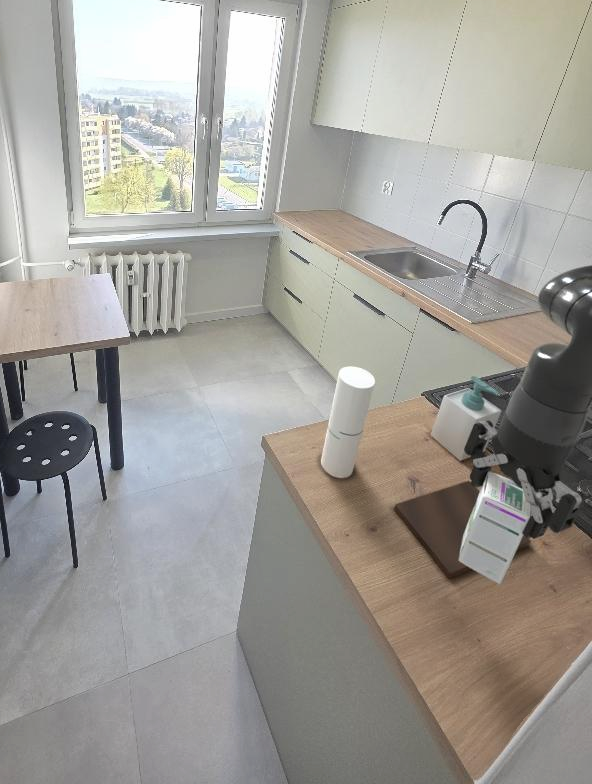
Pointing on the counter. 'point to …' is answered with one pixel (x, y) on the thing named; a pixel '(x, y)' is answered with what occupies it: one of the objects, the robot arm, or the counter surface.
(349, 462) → the cylindrical container
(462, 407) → the soap bottle
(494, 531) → the syrup box
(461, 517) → the board
